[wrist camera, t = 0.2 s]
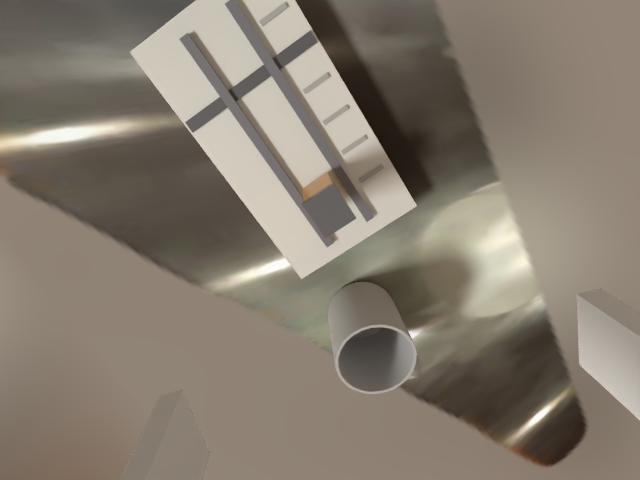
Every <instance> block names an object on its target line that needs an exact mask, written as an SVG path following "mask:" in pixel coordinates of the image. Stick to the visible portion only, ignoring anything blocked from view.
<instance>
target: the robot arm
mask: <svg viewBox="0 0 640 480" xmlns="http://www.w3.org/2000/svg"><path fill="white" fill-rule="evenodd" d="M577 310H578V311H577V313H578V338H579V339H578V340H579V364H580V366H581V367H583V368H584V369H585V370H586V371H587V372H588V373H589V374H590V375H591V376H592V377H593V378H595V379H596V380H597V381H598V382H599V383H600V384H601V385H602V386H603V387H604V388H605V389H607V390H608V391H609V392H610V393H611V394H612V395H613V396H614V397H615V398H616V399H617V400H618V401H620V402H621V403H622V404H623V405H624V406H625V407H626V408H627V409H628V410H629V411H630V412H632V413H633V414H634V415H635V416H636V417H637V418H638V419H639V420H640V312H639V311H637V310H636V309H634V308H632V307H631V306H629V305H627V304H626V303H624V302H622V301H621V300H619V299H617V298H616V297H614V296H612V295H611V294H609V293H607V292H605V291H604V290H602V289H596V290H592V291H588V292H584V293H580V294H577ZM209 454H210V451H209V449H208V447H207V445H206V442H205V440H204V438H203V435H202V433H201V431H200V429H199V426H198V424H197V422H196V420H195V417H194V415H193V413H192V410H191V408H190V406H189V404H188V401H187V399H186V397H185V395H184V393H183V390H179V391H176V392H171V393H167V394H163V395H160V396H159V399H158V400H157V403H156V405H155V407H154V409H153V411H152V413H151V415H150V417H149V419H148V421H147V424H146V425H145V428H144V430H143V432H142V434H141V436H140V438H139V440H138V442H137V444H136V446H135V448H134V451H133V452H132V455H131V457H130V459H129V461H128V463H127V465H126V467H125V469H124V471H123V473H122V475H121V478H120V479H119V480H203V477H204V473H205V469H206V466H207V461H208V458H209Z"/></svg>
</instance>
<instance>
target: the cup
mask: <svg viewBox="0 0 640 480" xmlns="http://www.w3.org/2000/svg"><path fill="white" fill-rule="evenodd" d="M328 322H329V328H330V335H331V341H332V348H333V354H334V361H335V367H336V370H337V373H338V376H339V377H340V379H341V380H342V381H343V383H344V384H346V385H347V386H348V387H349V388H351V389H353V390H355V391H358V392H361V393H367V394H378V393H384V392H387V391H391V390H393V389H394V388H396V387H398V386H400V385H401V384H402V383H403V382H405V381H406V380H407V379H412V378H415V377H418V376H419V375H420V371H421V362H420V360H419V358H418V356H417V352H416V348H415V345H414V343H413V341H412V338H411V336H410V334H409V332H408V330H407V328H406V326H405V324H404V322H403V320H402V318H401V316H400V314H399V312H398V310H397V308H396V306H395V304H394V302H393V300H392V299H391V297H390V296H389V294H388V292H387V291H385V290H384V289H383V288H382V287H381V286H378V285H376V284H374V283H370V282H355V283H352V284H349V285H347V286H345V287H343V288H342V289H340V290H339V291H338V292H337V293H336V294H335V295H334V296H333V298H332V300H331V302H330V304H329V308H328Z"/></svg>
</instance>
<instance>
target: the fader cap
mask: <svg viewBox="0 0 640 480" xmlns="http://www.w3.org/2000/svg"><path fill="white" fill-rule="evenodd" d="M302 190H303V201H304V202H302V205H303V207H304V208H305V210H306V211H307V213H308V214H309V215H310V217H311V218H312V220H313V221H314V223H315V224H316V225H317V227H318V228H319V230H320V231H321V232H322V234H323V235H324V237H325V238H327V237H329V236H330V235H332V234H333V233H335V232H336V231H338V230H339V229H341V228H343V227H344V226H346V225H347V224H349V223H350V222H352V221H353V220H355V219H356V216H355V215H354V213H353V212H352V210H351V209H350V207H349V206H348V204H347V202H346V200H345V198H344V197H343V195H342V194H341V192H340V191H339V189H338V188H337V186H336V185H335V183H334V182H333V180H332V179H331V177H330V176H329V174H328V173H327V172H326V173H325V174H323V175H322V176H320V177H319V178H317V179H316V180H314V181H313V182H311V183H310V184H308V185H307V186H305V187H304V188H302Z"/></svg>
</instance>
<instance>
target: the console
mask: <svg viewBox="0 0 640 480" xmlns="http://www.w3.org/2000/svg"><path fill="white" fill-rule="evenodd" d="M130 53H131V55H132V56H133V57H134V59H135V60H136V61H137V63H138V64H139V65H140V67H141V68H142V69H143V71H144V72H145V73H146V75H147V76H148V77H149V78H150V80H151V81H152V82H153V84H154V85H155V86H156V88H157V89H158V90H159V92H160V93H161V94H162V96H163V97H164V98H165V100H166V101H167V102H168V104H169V105H170V106H171V107H172V109H173V110H174V111H175V113H176V114H177V115H178V117H179V118H180V119H181V121H182V122H183V123H184V125H185V126H186V127H187V129H188V130H189V131H190V133H191V134H192V135H193V136H194V138H195V139H196V140H197V142H198V143H199V144H200V146H201V147H202V148H203V150H204V151H205V152H206V154H207V155H208V156H209V158H210V159H211V160H212V162H213V163H214V164H215V166H216V167H217V168H218V169H219V171H220V172H221V173H222V175H223V176H224V177H225V179H226V180H227V181H228V183H229V184H230V185H231V187H232V188H233V189H234V191H235V192H236V193H237V195H238V196H239V197H240V198H241V200H242V201H243V202H244V204H245V205H246V206H247V208H248V209H249V210H250V212H251V213H252V214H253V216H254V217H255V218H256V220H257V221H258V222H259V224H260V225H261V226H262V227H263V229H264V230H265V231H266V233H267V234H268V235H269V237H270V238H271V239H272V241H273V242H274V243H275V245H276V246H277V247H278V249H279V250H280V251H281V253H282V254H283V255H284V257H285V258H286V259H287V260H288V262H289V263H290V264H291V266H292V267H293V268H294V270H295V271H296V272H297V274H298V275H299V276H300V278H301V279H302V278H304V277H306V276H307V275H309V274H310V273H312V272H313V271H315V270H317V269H318V268H320V267H321V266H323V265H325V264H326V263H328V262H329V261H331V260H332V259H334V258H336V257H337V256H339V255H340V254H342V253H343V252H345V251H347V250H348V249H350V248H351V247H353V246H354V245H356V244H358V243H359V242H361V241H362V240H364V239H366V238H367V237H369V236H370V235H372V234H373V233H375V232H377V231H378V230H380V229H381V228H383V227H384V226H386V225H388V224H389V223H391V222H392V221H394V220H395V219H397V218H399V217H400V216H402V215H403V214H405V213H407V212H408V211H410V210H411V209H413V208H414V207H416V206H417V205H416V203H415V202H414V200H413V198H412V197H411V195H410V193H409V192H408V190H407V188H406V187H405V185H404V183H403V181H402V180H401V178H400V176H399V175H398V173H397V171H396V170H395V168H394V166H393V165H392V163H391V161H390V160H389V158H388V156H387V154H386V153H385V151H384V149H383V148H382V146H381V144H380V143H379V141H378V139H377V138H376V136H375V134H374V133H373V131H372V129H371V127H370V126H369V124H368V122H367V121H366V119H365V117H364V116H363V114H362V112H361V111H360V109H359V107H358V106H357V104H356V102H355V100H354V99H353V97H352V95H351V94H350V92H349V90H348V89H347V87H346V85H345V84H344V82H343V80H342V79H341V77H340V75H339V73H338V72H337V70H336V68H335V67H334V65H333V63H332V62H331V60H330V58H329V57H328V55H327V53H326V52H325V50H324V48H323V46H322V45H321V43H320V41H319V40H318V38H317V36H316V35H315V33H314V31H313V30H312V28H311V26H310V25H309V23H308V21H307V19H306V18H305V16H304V14H303V13H302V11H301V9H300V8H299V6H298V4H297V3H296V1H295V0H196V1H194V2H193V3H192V4H191V5H189V6H188V7H187V8H185V9H184V10H183V11H182V12H180V13H179V14H178V15H176V16H175V17H174V18H173V19H171V20H170V21H169V22H168V23H166V24H165V25H164V26H162V27H161V28H160V29H159V30H157V31H156V32H155V33H154V34H152V35H151V36H150V37H148V38H147V39H146V40H145V41H143V42H142V43H141V44H139V45H138V46H137V47H136V48H134V49H133V50H132V51H131V52H130ZM326 172H327V173H328V174H329V176H330V177H331V179H332V180H333V182H334V183H335V185H336V186H337V188H338V189H339V191H340V192H341V194H342V195H343V197H344V198H345V200H346V202H347V204H348V206H349V207H350V209H351V210H352V212H353V213H354V215H355V216H356V219H355V220H353V221H352V222H350V223H349V224H347V225H346V226H344V227H343V228H341V229H339V230H338V231H336V232H335V233H333V234H332V235H330V236H329V237H327V238H325V237H324V235H323V234H322V232H321V231H320V230H319V228H318V227H317V225H316V224H315V223H314V221H313V220H312V218H311V217H310V215H309V214H308V213H307V211H306V210H305V208H304V207H303V205H302V202H304V201H303V190H302V188H304V187H305V186H307V185H308V184H310V183H311V182H313V181H314V180H316V179H317V178H319V177H320V176H322V175H323V174H325V173H326Z"/></svg>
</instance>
